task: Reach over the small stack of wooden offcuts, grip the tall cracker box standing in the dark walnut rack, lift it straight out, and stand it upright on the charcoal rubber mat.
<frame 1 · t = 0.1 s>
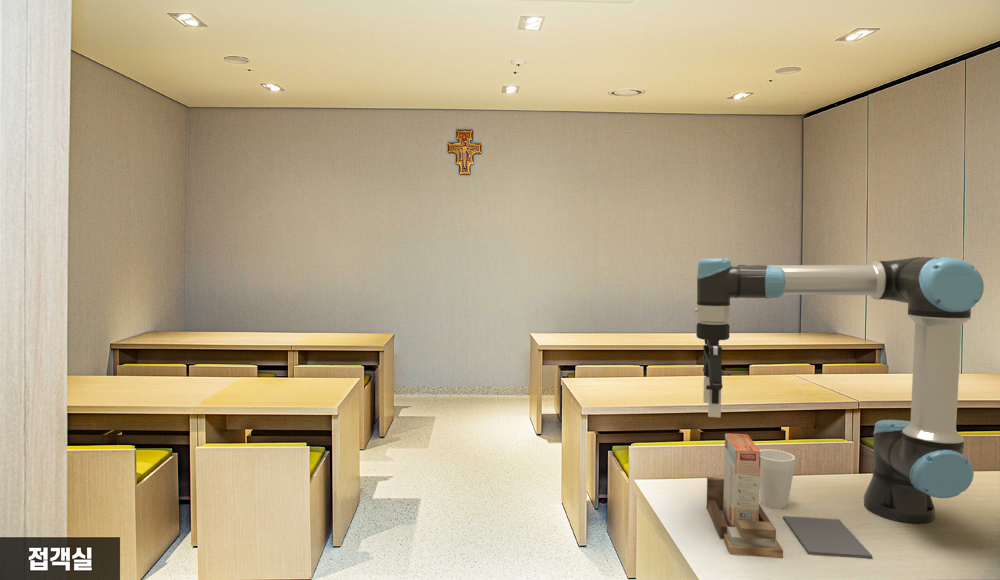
hand: (711, 409, 147), 28 cm above the table, tool pointing down, fingers open, 13 cm apart
foam cup: (774, 504, 159), on the table
offcut stack: (752, 550, 134), on the table
mat: (824, 537, 140), on the table
cracker box: (740, 527, 146), resting in rack
rack: (740, 526, 146), on the table
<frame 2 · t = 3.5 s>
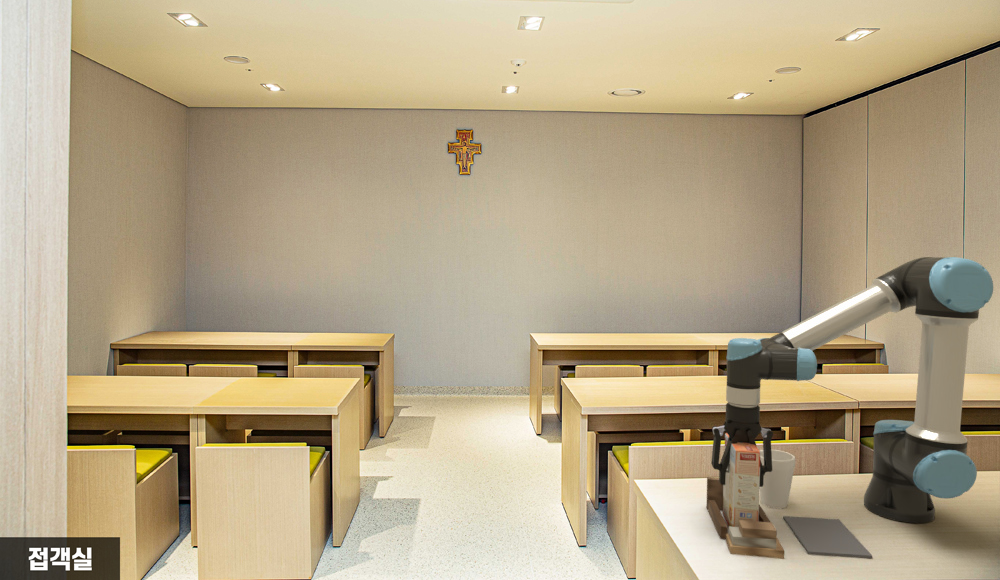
hand: (740, 498, 145), 7 cm above the table, tool pointing down, fingers closed on cracker box, 6 cm apart
cracker box: (740, 527, 146), resting in rack, touching gripper
everything else where it was.
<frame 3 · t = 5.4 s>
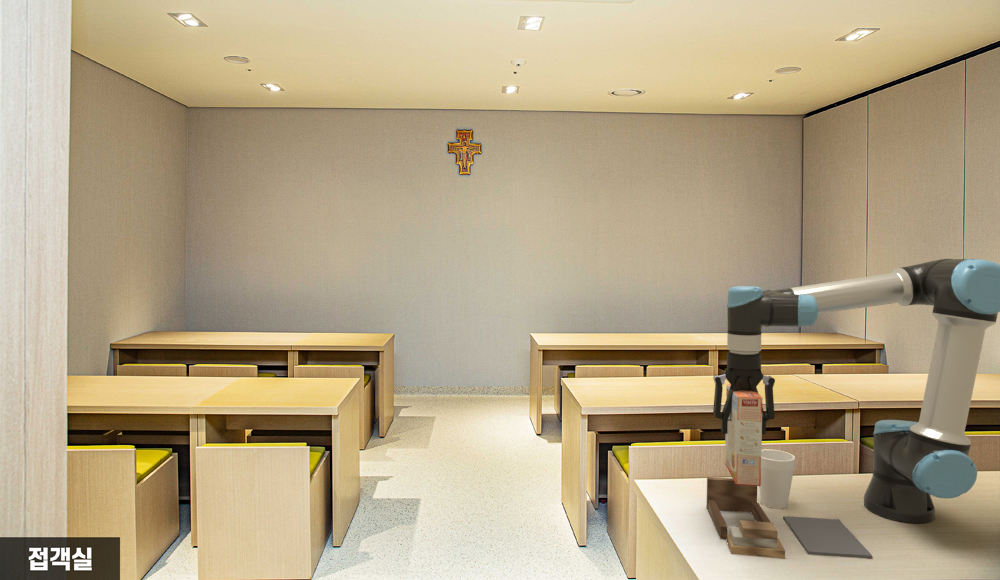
hand: (743, 446, 145), 19 cm above the table, tool pointing down, fingers closed on cracker box, 6 cm apart
cracker box: (742, 476, 145), point 12 cm above the table, touching gripper
everything else where it was.
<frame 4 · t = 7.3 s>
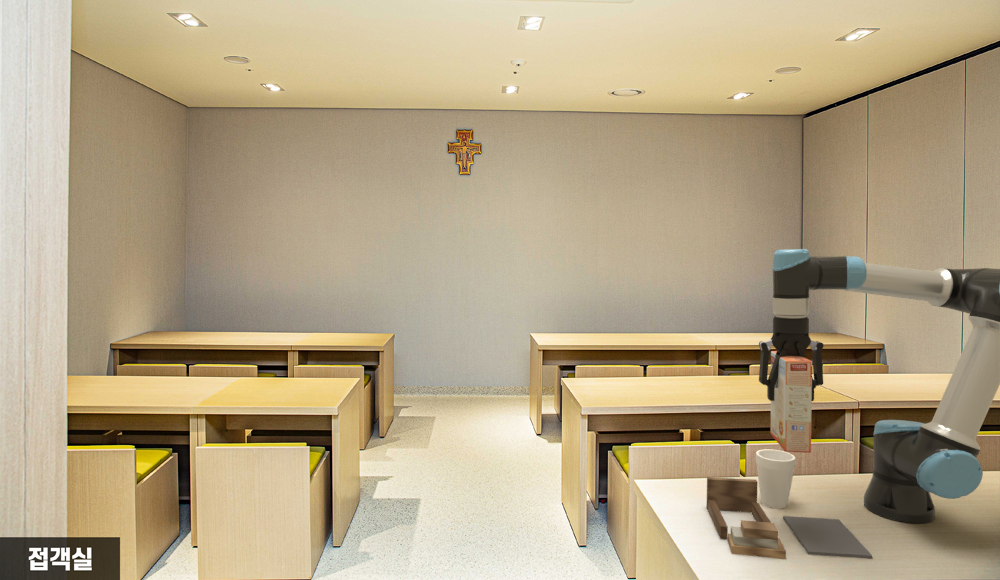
hand: (790, 414, 141), 28 cm above the table, tool pointing down, fingers closed on cracker box, 6 cm apart
cracker box: (790, 444, 141), point 21 cm above the table, touching gripper
everything else where it was.
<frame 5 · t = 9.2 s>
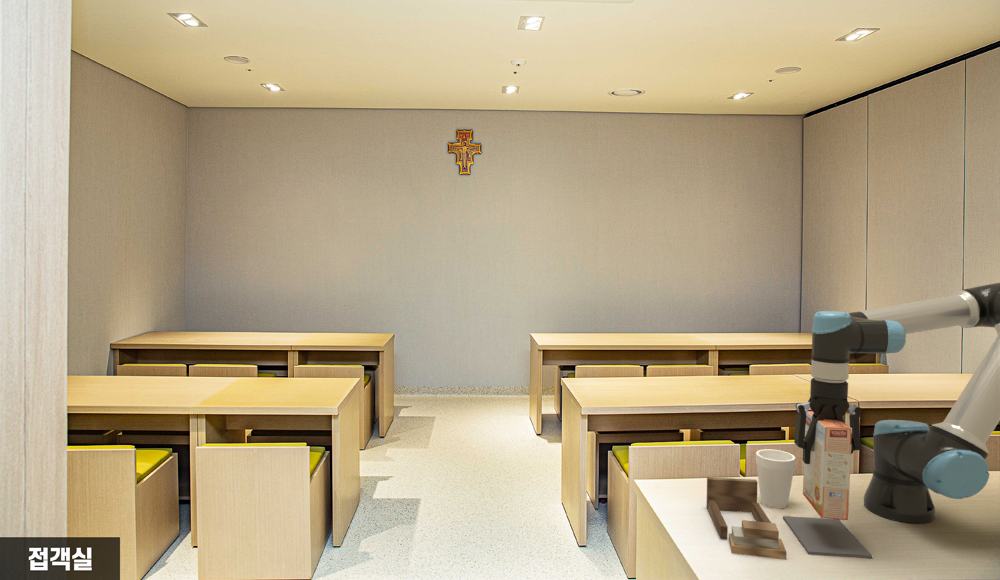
hand: (825, 478, 139), 14 cm above the table, tool pointing down, fingers closed on cracker box, 6 cm apart
cracker box: (824, 508, 140), point 7 cm above the table, touching gripper
everything else where it was.
when the fingers open (9 cm above the table, at t = 11.0 s): cracker box drops 1 cm, resting on mat.
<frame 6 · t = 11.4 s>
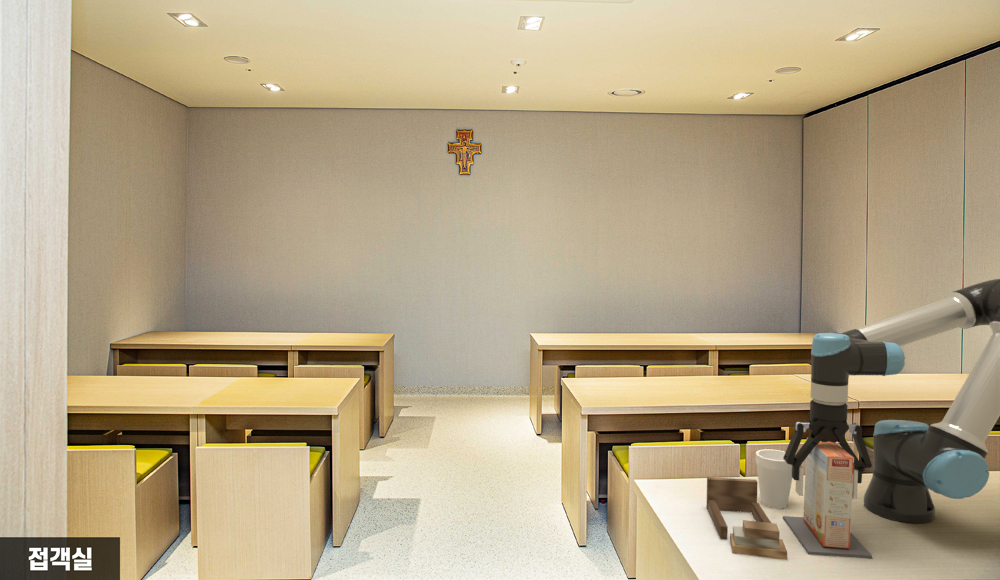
hand: (825, 495, 139), 10 cm above the table, tool pointing down, fingers open, 11 cm apart
cracker box: (825, 535, 140), resting on mat
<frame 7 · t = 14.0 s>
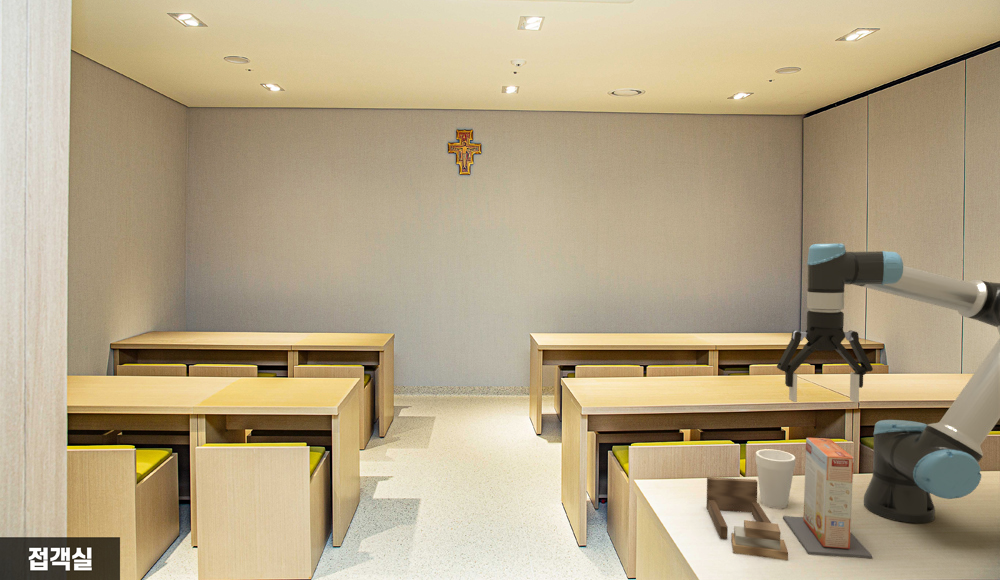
hand: (823, 401, 141), 31 cm above the table, tool pointing down, fingers open, 13 cm apart
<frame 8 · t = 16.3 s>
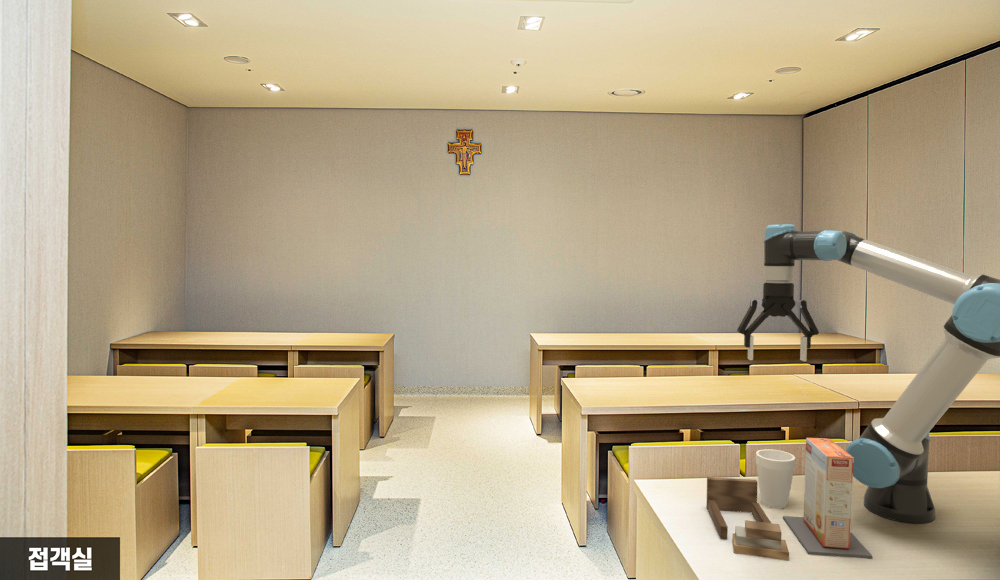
hand: (776, 360, 164), 37 cm above the table, tool pointing down, fingers open, 13 cm apart
at the end: cracker box inside the target area on the mat (0.3 cm from its centre), point 0.4 cm above the mat's base; cracker box tilted 0°; offcut stack moved 1.5 cm from its start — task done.
